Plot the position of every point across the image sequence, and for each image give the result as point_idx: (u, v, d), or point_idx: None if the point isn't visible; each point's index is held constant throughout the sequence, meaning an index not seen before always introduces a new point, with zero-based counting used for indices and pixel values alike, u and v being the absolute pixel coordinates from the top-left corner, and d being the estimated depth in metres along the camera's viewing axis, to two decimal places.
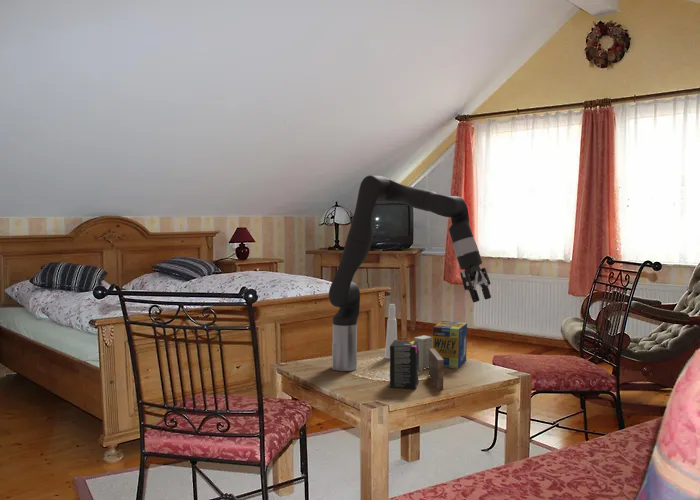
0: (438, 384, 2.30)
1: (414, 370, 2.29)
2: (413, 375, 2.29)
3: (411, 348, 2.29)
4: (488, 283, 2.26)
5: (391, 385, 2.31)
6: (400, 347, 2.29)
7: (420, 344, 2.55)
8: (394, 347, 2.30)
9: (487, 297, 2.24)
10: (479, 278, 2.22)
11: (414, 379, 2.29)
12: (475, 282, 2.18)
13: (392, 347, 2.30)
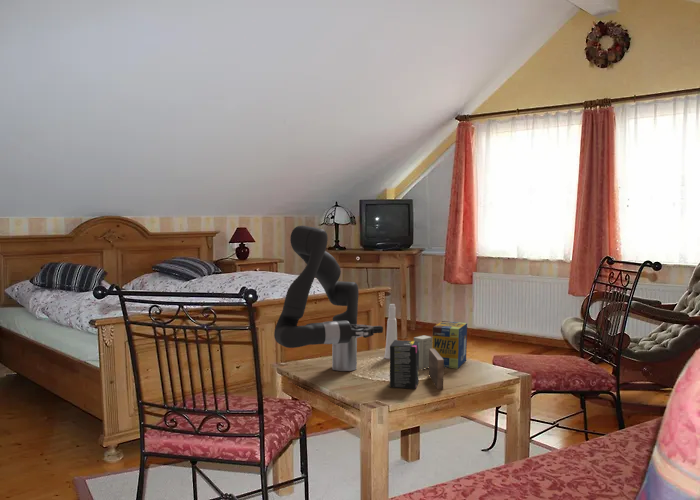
0: (438, 384, 2.30)
1: (414, 370, 2.29)
2: (413, 375, 2.29)
3: (411, 348, 2.29)
4: None
5: (391, 385, 2.31)
6: (400, 347, 2.29)
7: (420, 344, 2.55)
8: (394, 347, 2.30)
9: None
10: None
11: (414, 379, 2.29)
12: None
13: (392, 347, 2.30)
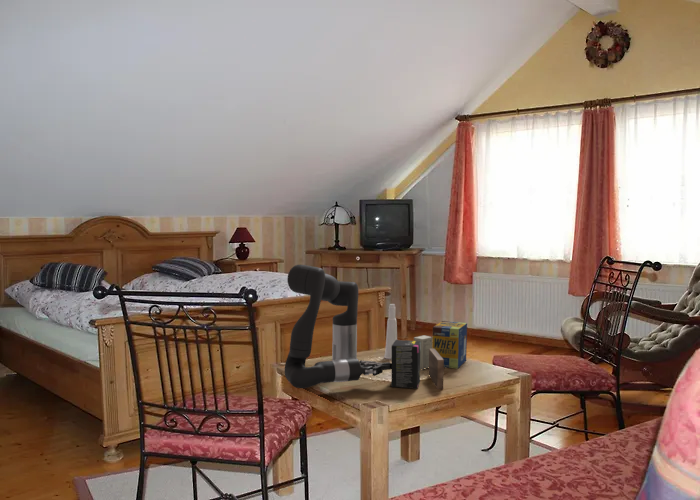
0: (438, 384, 2.30)
1: (416, 370, 2.29)
2: (415, 375, 2.29)
3: (413, 348, 2.29)
4: None
5: (393, 385, 2.31)
6: (402, 347, 2.30)
7: None
8: (396, 347, 2.30)
9: None
10: None
11: (416, 379, 2.29)
12: None
13: (394, 347, 2.30)
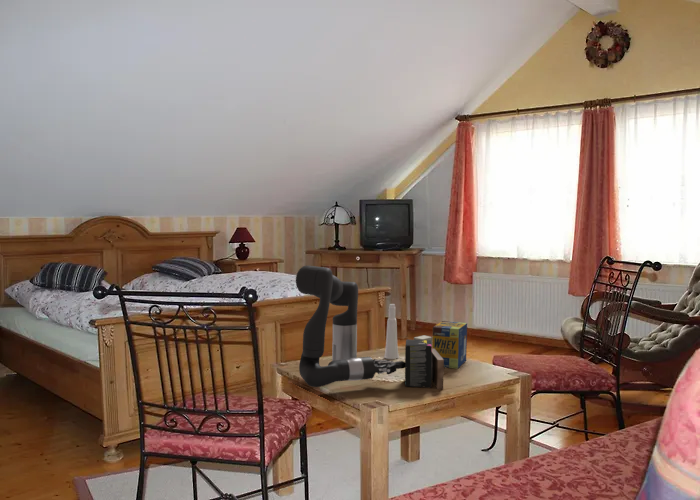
0: (438, 384, 2.30)
1: (430, 369, 2.31)
2: (429, 374, 2.31)
3: (427, 347, 2.30)
4: None
5: (407, 384, 2.32)
6: (416, 346, 2.31)
7: None
8: (410, 346, 2.31)
9: None
10: None
11: (430, 378, 2.31)
12: None
13: (408, 346, 2.31)
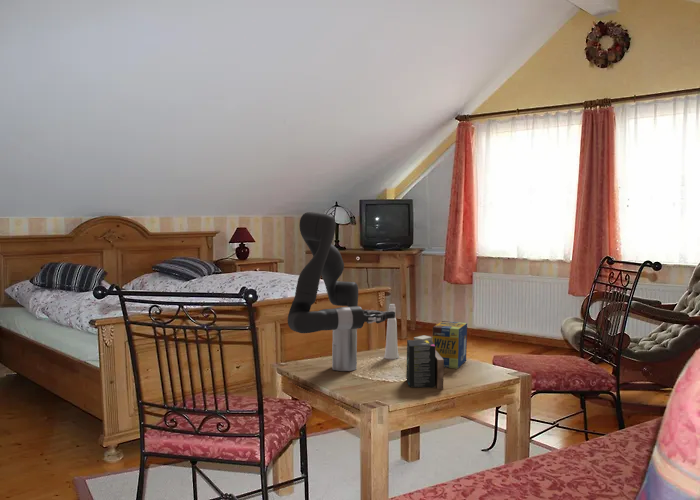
0: (438, 384, 2.30)
1: (434, 369, 2.31)
2: (433, 374, 2.31)
3: (431, 347, 2.30)
4: None
5: (410, 385, 2.31)
6: (420, 347, 2.30)
7: None
8: (414, 347, 2.30)
9: None
10: None
11: (434, 378, 2.31)
12: None
13: (412, 347, 2.30)
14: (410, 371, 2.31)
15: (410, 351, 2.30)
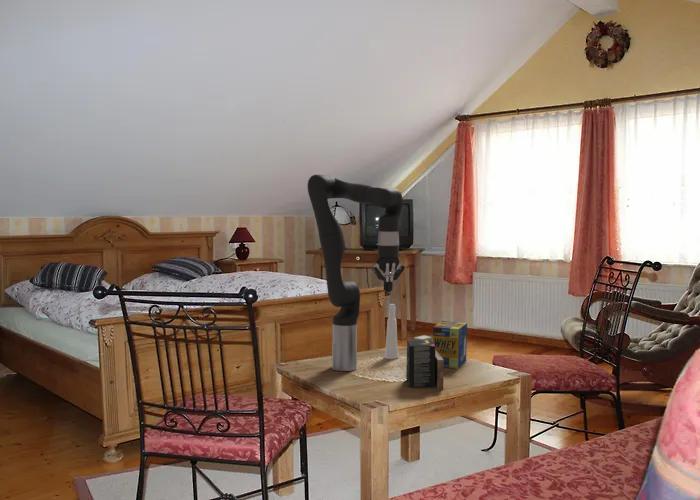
0: (438, 384, 2.30)
1: (434, 369, 2.31)
2: (433, 374, 2.31)
3: (431, 347, 2.30)
4: (394, 277, 2.44)
5: (410, 385, 2.31)
6: (420, 347, 2.30)
7: None
8: (414, 347, 2.30)
9: None
10: None
11: (434, 378, 2.31)
12: (387, 275, 2.42)
13: (412, 347, 2.30)
14: (410, 371, 2.31)
15: (410, 351, 2.30)
